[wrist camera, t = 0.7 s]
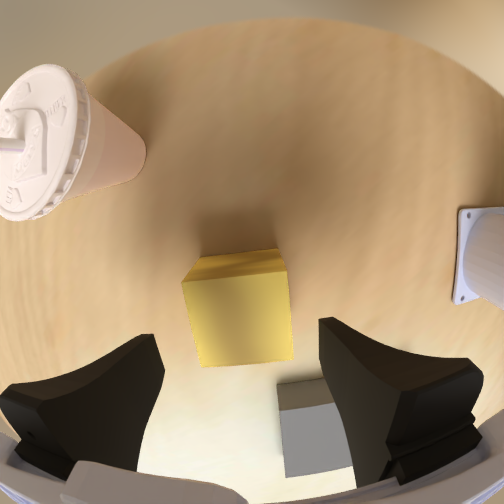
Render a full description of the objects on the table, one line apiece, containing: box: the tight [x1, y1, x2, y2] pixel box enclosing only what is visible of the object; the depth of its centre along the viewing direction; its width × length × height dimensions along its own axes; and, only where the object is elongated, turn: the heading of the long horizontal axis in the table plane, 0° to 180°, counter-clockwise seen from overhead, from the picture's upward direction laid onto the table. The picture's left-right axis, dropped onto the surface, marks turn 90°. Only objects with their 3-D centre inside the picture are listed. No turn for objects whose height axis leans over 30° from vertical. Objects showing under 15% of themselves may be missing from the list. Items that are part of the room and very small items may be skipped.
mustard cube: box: [181, 248, 294, 367], centre depth 16 cm, size 5×5×5 cm
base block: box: [277, 378, 353, 478], centre depth 20 cm, size 11×11×4 cm
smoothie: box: [0, 64, 146, 221], centre depth 9 cm, size 6×6×14 cm
